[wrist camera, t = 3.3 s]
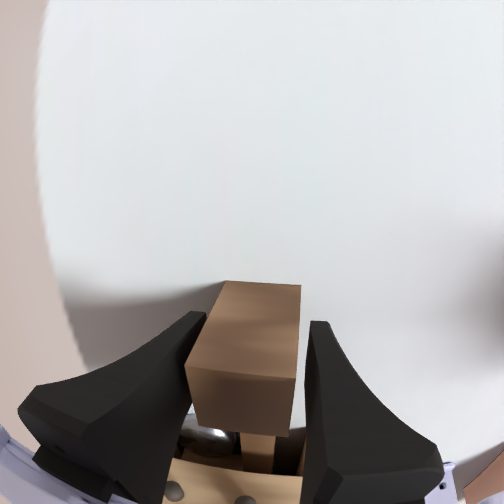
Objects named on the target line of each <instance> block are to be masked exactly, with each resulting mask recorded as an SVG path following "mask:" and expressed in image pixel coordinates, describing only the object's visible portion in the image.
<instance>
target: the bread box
mask: <svg viewBox="0 0 504 504" xmlns="http://www.w3.org/2000/svg"><path fill="white" fill-rule="evenodd" d="M305 449H306V437H305V441H304V445H303V450H302V454H301V458H300V462H299V466H298V469H297V473H296V476H288V475H275V474H272V475H268V474H258V473H250V472H242V471H235V470H229V469H223V468H217V467H212V466H206V465H201V464H197V463H192V462H188V461H183V460H181V457H182V455H181V453H180V450H179V448H178V445H177V444H176V448H175V451H174V455H173V459H172V462H171V466H170V470H169V474H168V478H167V483H166V487H165V492H164V497H163V502H162V504H299V503H300V495H301V487H302V479H303V470H304V460H305Z"/></svg>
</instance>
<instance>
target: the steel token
mask: <svg viewBox="0 0 504 504" xmlns="http://www.w3.org/2000/svg"><path fill="white" fill-rule="evenodd" d="M236 439H237V436H236V433H235V432H233V431H226V430H220V429H214V428H208V427H202V426H198V422H197V418H196V414H187V415H186V417H185V420H184V423H183V425H182V428H181V431H180V435H179V438H178V441H177V442H178V443H179V444H180V445H182V446H183V447H185V448H186V449H188V450H190V451H192V452H195V453H197V454H200V455H204V456H209V457H224V456H228V455H230V454H231V453H232V452H233V450H234V446H235V442H236Z"/></svg>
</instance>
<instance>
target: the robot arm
mask: <svg viewBox="0 0 504 504" xmlns="http://www.w3.org/2000/svg"><path fill="white" fill-rule="evenodd" d="M206 320H207V318H206V313H205V312H195V311H190V312H189V313H187V314H186V315H185V316H183V317H182V318H181V319H179V320H178V321H177V322H176V323H174V324H173V325H172V326H170V327H169V328H168V329H166V330H165V331H164V332H162V333H161V334H159V335H158V336H157V337H155V338H154V339H152V340H151V341H149V342H148V343H146V344H145V345H143V346H142V347H140V348H139V349H137V350H136V351H134V352H132V353H130V354H129V355H127V356H125V357H123V358H121V359H119V360H117V361H115V362H113V363H111V364H109V365H107V366H104V367H102V368H100V369H97V370H95V371H92V372H90V373H87V374H84V375H81V376H78V377H75V378H71V379H67V380H64V381H59V382H54V383H50V384H44V385H38V386H36V387H35V388H34V389H33V390H32V391H31V393H30V394H29V395H28V396H27V397H26V399H25V400H24V401H23V402H22V404H21V405H20V406H19V407H18V415H19V417H20V419H21V421H22V422H23V423H24V425H25V426H26V427H27V429H28V430H29V431H30V432H31V434H32V435H33V436H34V437H35V439H36V440H37V441H38V442H39V443H40V445H41V446H40V447H39V449H38V450H37V452H36V453H34V452H32V451H30V450H29V449H28V448H26V447H25V446H23V445H22V444H20V443H19V442H17V441H16V440H14V439H13V438H11V437H10V435H9V433H8V432H7V431H6V430H5V428H4V427H3V426H2V425H1V424H0V494H1V495H2V496H3V497H4V498H5V499H6V500H7V501H9V502H10V503H11V504H162V502H163V497H164V492H165V487H166V483H167V478H168V474H169V470H170V466H171V462H172V459H173V455H174V451H175V448H176V444H177V441H178V438H179V435H180V431H181V428H182V425H183V423H184V420H185V417H186V415H187V413H188V411H189V409H190V406H191V404H192V397H191V393H190V389H189V384H188V380H187V375H186V371H185V366H184V365H185V363H186V361H187V359H188V357H189V355H190V353H191V351H192V349H193V347H194V345H195V342H196V340H197V338H198V336H199V334H200V332H201V330H202V328H203V326H204V324H205V322H206ZM304 388H305V411H306V449H305V460H304V470H303V479H302V487H301V495H300V503H299V504H458V500H457V495H456V489H455V484H454V480H453V475H452V470H453V469H454V468H455V463H449V464H444V465H443V462H442V459H441V456H440V453H439V451H438V448H437V445H436V444H434V443H433V442H431V441H430V440H428V439H427V438H425V437H423V436H422V435H420V434H419V433H417V432H416V431H414V430H413V429H411V428H410V427H409V426H408V425H406V424H405V423H404V422H402V421H401V420H400V419H399V418H398V417H396V416H395V415H394V414H393V413H392V412H391V411H390V410H389V409H388V408H387V407H386V406H385V405H383V404H382V402H381V401H380V400H379V399H378V398H377V397H376V396H375V395H374V394H373V393H372V391H371V390H370V389H369V388H368V387H367V386H366V384H365V383H364V382H363V380H362V379H361V378H360V376H359V375H358V374H357V372H356V371H355V369H354V368H353V366H352V365H351V363H350V362H349V360H348V359H347V357H346V355H345V354H344V352H343V350H342V349H341V347H340V345H339V343H338V341H337V339H336V337H335V335H334V333H333V331H332V329H331V326H330V324H329V323H328V322H327V321H311V322H310V331H309V339H308V347H307V355H306V365H305V381H304ZM477 504H504V491H502V492H499V493H497V494H494V495H492V496H489V497H487V498H485V499H483V500H482V501H480V502H478V503H477Z"/></svg>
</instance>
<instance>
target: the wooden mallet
mask: <svg viewBox="0 0 504 504" xmlns="http://www.w3.org/2000/svg"><path fill="white" fill-rule="evenodd" d="M300 300H301V285H288V284H271V283H255V282H240V281H226V282H225V284H224V286H223V288H222V290H221V292H220V294H219V296H218V298H217V300H216V302H215V304H214V306H213V308H212V310H211V312H210V314H209V316H208V318H207V320H206V322H205V324H204V326H203V328H202V330H201V332H200V334H199V336H198V338H197V340H196V342H195V345H194V347H193V349H192V351H191V353H190V355H189V357H188V359H187V361H186V363H185V365H184V366H185V371H186V375H187V380H188V384H189V389H190V393H191V397H192V402H193V406H194V410H195V414H196V418H197V422H198V426H202V427H208V428H214V429H220V430H226V431H233V432H240V440H241V451H242V455H235V454H230V455H228V456H224V457H209V456H204V455H200V454H197V453H195V452H192V451H190V450H188V449H186V448H185V449H184V452H183V454H182V457H181V460H183V461H188V462H192V463H197V464H201V465H206V466H212V467H217V468H223V469H229V470H235V471H242V472H250V473H258V474H268V475H272V472H273V463H274V453H275V442H276V436H277V437H288V434H289V427H290V420H291V413H292V405H293V398H294V390H295V381H296V370H297V356H298V340H299V322H300Z"/></svg>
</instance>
